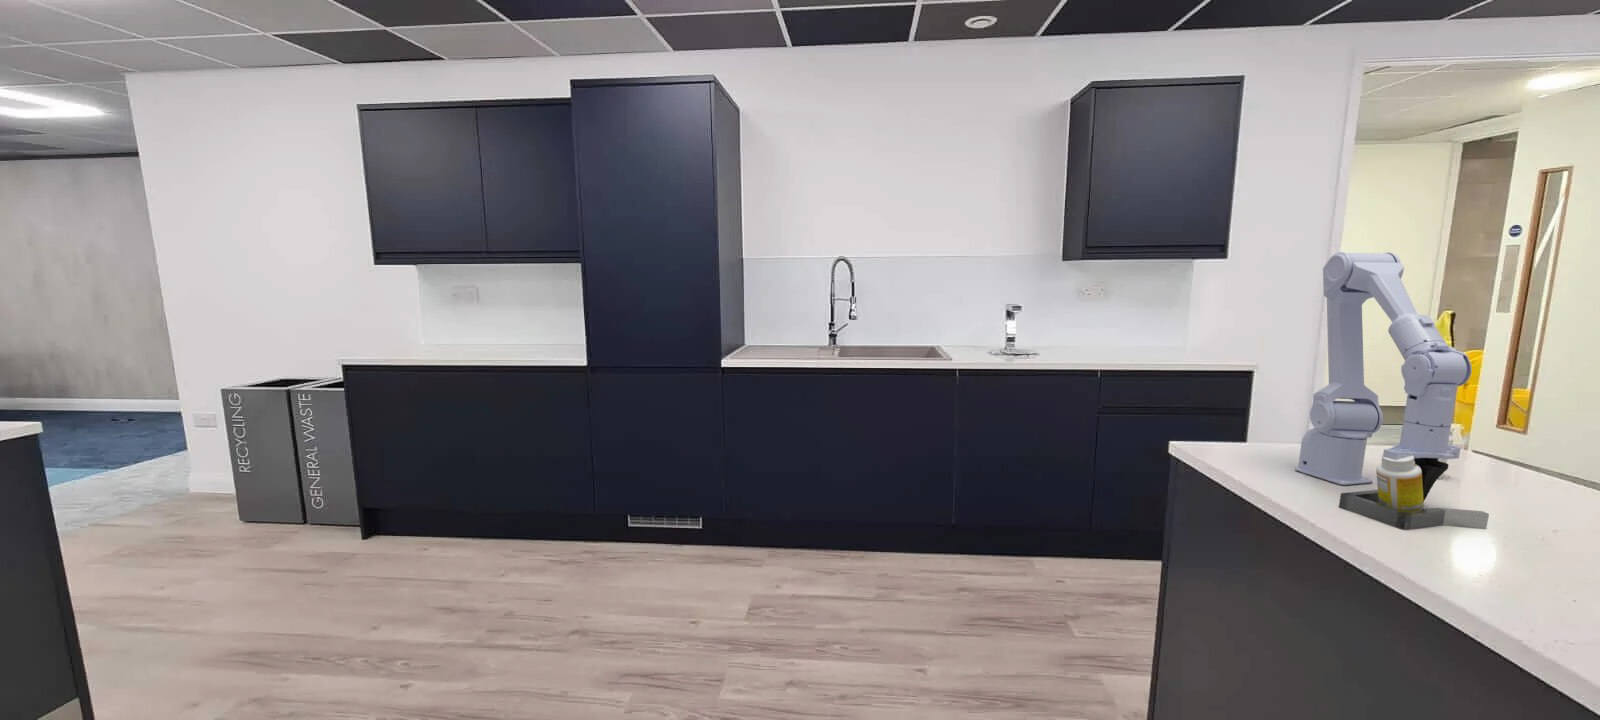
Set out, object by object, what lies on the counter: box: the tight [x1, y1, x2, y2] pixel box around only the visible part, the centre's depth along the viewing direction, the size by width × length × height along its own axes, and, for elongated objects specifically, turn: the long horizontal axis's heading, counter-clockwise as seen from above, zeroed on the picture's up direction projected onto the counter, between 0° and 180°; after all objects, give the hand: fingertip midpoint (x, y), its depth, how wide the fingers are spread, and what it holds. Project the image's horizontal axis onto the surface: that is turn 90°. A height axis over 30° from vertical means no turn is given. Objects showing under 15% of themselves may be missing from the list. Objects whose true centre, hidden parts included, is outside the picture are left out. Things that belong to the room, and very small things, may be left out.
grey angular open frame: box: [1338, 489, 1490, 531], centre depth 109 cm, size 15×14×2 cm
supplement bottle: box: [1375, 453, 1425, 511], centre depth 107 cm, size 6×6×10 cm
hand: (1414, 500), depth 109 cm, fingers closed
